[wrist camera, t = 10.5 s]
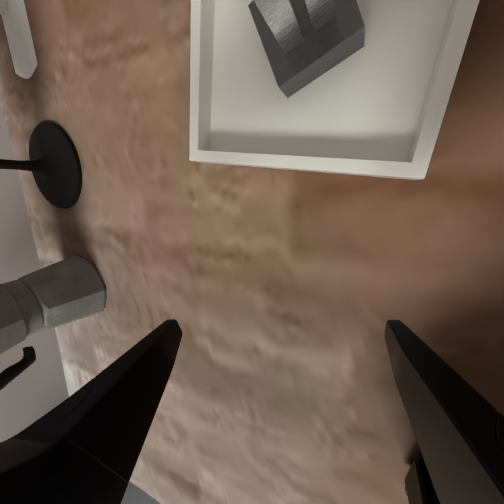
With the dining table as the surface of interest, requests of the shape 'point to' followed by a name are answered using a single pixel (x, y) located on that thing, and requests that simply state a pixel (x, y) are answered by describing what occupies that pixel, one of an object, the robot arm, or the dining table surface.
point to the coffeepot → (46, 305)
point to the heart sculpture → (19, 37)
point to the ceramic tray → (327, 92)
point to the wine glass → (52, 165)
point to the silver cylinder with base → (306, 37)
